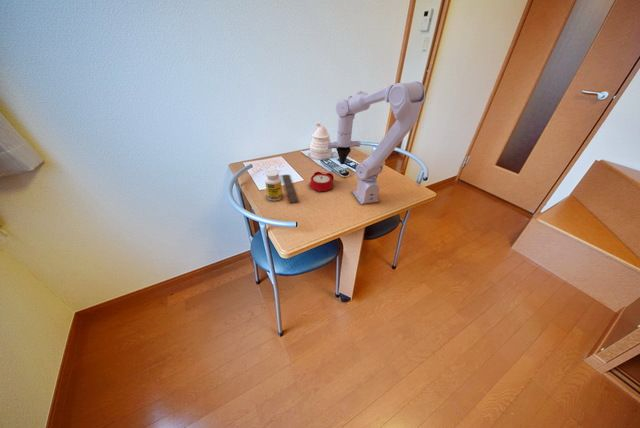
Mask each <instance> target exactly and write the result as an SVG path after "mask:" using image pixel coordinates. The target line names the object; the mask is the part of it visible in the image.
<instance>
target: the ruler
mask: <svg viewBox="0 0 640 428" xmlns="http://www.w3.org/2000/svg"><path fill="white" fill-rule="evenodd" d="M282 180H283V183H284V186H285V190H286V193H287V196H288V201H289V203H290V204H294V203H296V204H297V203H299V201H298V198H297V195H296V192H295V189H294V186H293V184H292V180H291V178H290V175H289V174H282Z"/></svg>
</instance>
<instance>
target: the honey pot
mask: <svg viewBox="0 0 640 428" xmlns="http://www.w3.org/2000/svg"><path fill="white" fill-rule="evenodd" d="M315 126H316V127H317V128H316V130H315V131H314V132H313V133H312V134H311V137H312V139H311V142H310V146H309V157H311V158H312V159H315V160H327V159H330V158H331V157H332V155H333V148H332V149H327V148H326V145H327V143H332V140H331V139H330V137H331V134H330V133H329V132H328V130H327V128H326V127H325V125H323V124H321V122H320V121H316V122H315Z"/></svg>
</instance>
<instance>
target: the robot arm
mask: <svg viewBox="0 0 640 428" xmlns="http://www.w3.org/2000/svg"><path fill="white" fill-rule="evenodd" d="M356 93H357V94H356V95H353V96H352V95H350V96H348V97H347V99H346V98H345V99H340V100H338V101H337V102H336V106H335V111H336V114H337V116H338V122H337V134H336V136H337V137H336V141H331V143H327V145H326V148H327V149H332V150H333V149H336V152H337V155H338V160H339V164H340V165H345V162H346V160H347V158H348V156H349V154H350V153H351V151H352V149H351V148H357V147H358V148H360V147H361V142H360V140H352V134H353V133H352V132H353V123H354V119H355V116H356V114H357V113H362V112H364V111H367V110H369V109H370V107H371V105H374V104H377V103H380V102H383V101H385V103H389V106H390V109H391V111H392V114H393V116H394V118H395V122H394V123H393V124H392V126H391V127H390V128H389V130H388V131H387V132H386V134H385V135H384V136H383V138H382V139H381V141H380V142H379V143H378V145H377V146H376V147H375V149H374V150H373V152H372V153H371V154H370V155H369V156H368V157H366V158H365V159H364V160H363V161H362V162H361V163H359V164H357V165H356V167H355V175H356V177H357V185H356V190H352V194H353V195H354V196H355V198H356V199H357V201H358V202H359V203H360V204H361V205H365V204H372V203H377V202H380V201H379V200H380V199H379V195H380V194H379V193H380V186H379V184H378V177H379V174H381V173H382V172H383V169H384V166H385V165H386V160H387V159H388V157H389V156H391V154H392V153H393V151H394V150H395V149H396V148H397V147H398V146H399V144H400V143H401V142H402V141H403V139H404V138H405V137H406V136H407V135H408V134H409V133H410V131H411V130H412V129H413V128H414V126H415V125H416V124H417V121H418V118H419V114H420V111H421V108H422V105H423V103H424V102H425V100H426V89H425V86H424V84H423V83H422V82H421V81H419V80H418V81H412V82H397V83H395V84H390V85H389V84H388V85H386V86H384V87H381V88H380V89H377V90H375V91H373V92H371V93H368V92H365V91H358V92H356Z"/></svg>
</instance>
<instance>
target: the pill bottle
mask: <svg viewBox="0 0 640 428" xmlns="http://www.w3.org/2000/svg"><path fill="white" fill-rule="evenodd" d="M265 175H266V178H265V180H264V182H265V183H264V184H265V190H266V196H267V200H270V201H272V202H273V201H275V202H276V201H279V200H281V199H282V198H283V187H282V179H281V177H280V175H279V171H277V170H268V171H267V172H266V173H265Z"/></svg>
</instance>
